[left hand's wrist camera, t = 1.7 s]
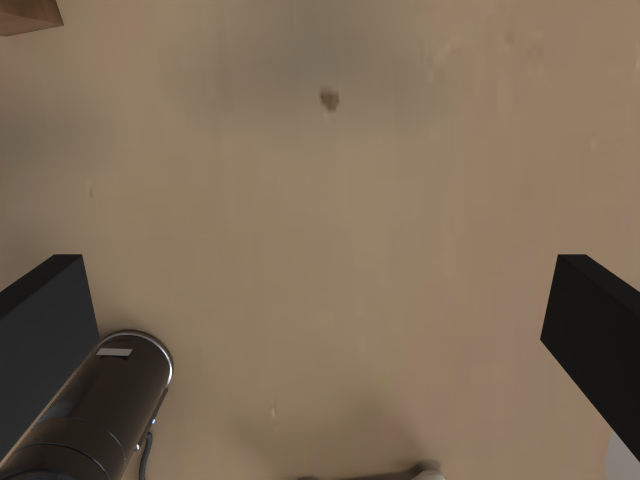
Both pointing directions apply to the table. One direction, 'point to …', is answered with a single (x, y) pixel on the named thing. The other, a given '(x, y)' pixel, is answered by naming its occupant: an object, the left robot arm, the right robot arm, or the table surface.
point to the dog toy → (429, 475)
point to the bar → (28, 16)
